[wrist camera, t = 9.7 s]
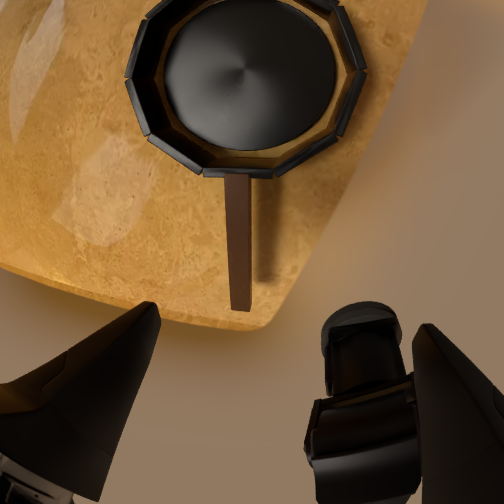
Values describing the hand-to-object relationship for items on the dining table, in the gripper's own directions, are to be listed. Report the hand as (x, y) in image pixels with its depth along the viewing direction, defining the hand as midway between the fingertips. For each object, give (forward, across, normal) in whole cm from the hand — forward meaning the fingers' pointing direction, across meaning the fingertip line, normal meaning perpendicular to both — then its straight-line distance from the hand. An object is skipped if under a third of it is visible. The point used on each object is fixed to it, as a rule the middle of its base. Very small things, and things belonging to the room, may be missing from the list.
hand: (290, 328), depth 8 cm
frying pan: (+12, +3, -4) cm, 13 cm away
